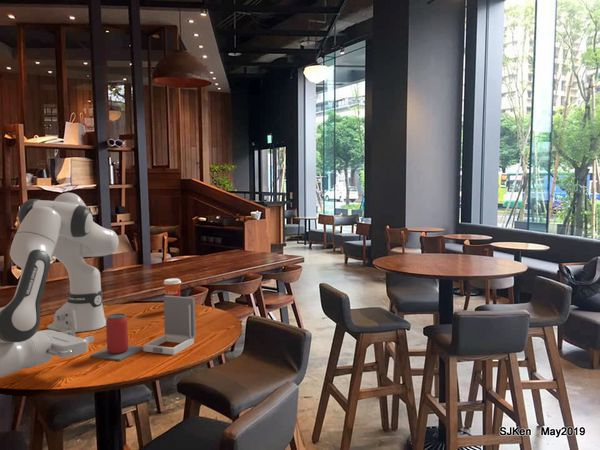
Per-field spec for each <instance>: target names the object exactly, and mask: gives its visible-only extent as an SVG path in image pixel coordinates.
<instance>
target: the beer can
mask: <svg viewBox="0 0 600 450" xmlns="http://www.w3.org/2000/svg"><path fill="white" fill-rule="evenodd" d="M105 331H106V333H105V334H106V348H107V352H108V353H110V354H120V353H123V352H126V351H127V350H128V345H129V335H128V334H129V333H128V319H127V317H126V314H125V313H113V314H110V315H107V317H106V326H105Z"/></svg>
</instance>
